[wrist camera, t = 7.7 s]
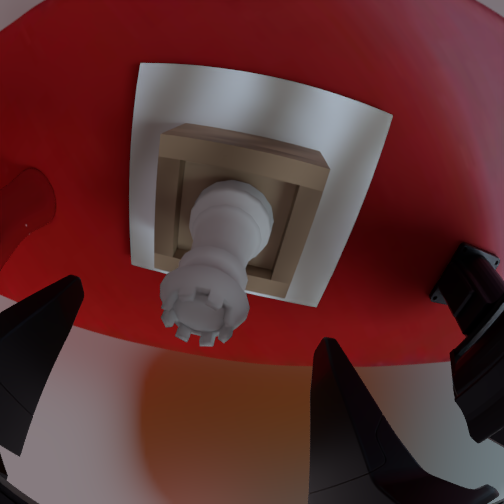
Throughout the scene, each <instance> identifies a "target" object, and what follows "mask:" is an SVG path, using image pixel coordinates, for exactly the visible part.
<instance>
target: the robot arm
mask: <svg viewBox="0 0 504 504" xmlns="http://www.w3.org/2000/svg"><path fill="white" fill-rule="evenodd" d="M499 263H500V259H499V258H498V257H497V256H495V255H493V254H491V253H488V252H486V251H484V250H482V249H479V248H477V247H475V246H472V245H470V244H467V243H462V244H460V246H459V248H458V249H457V251H456V253H455V255H454V256H453V258H452V260H451V262H450V263H449V265H448V267H447V268H446V270H445V272H444V273H443V275H442V277H441V278H440V280H439V281H438V283H437V284H436V286H435V288H434V289H433V291H432V292H431V294H430V295H429V298H430V300H431V301H432V302H436V303H441V304H446V305H448V307H449V309H450V311H451V313H452V315H453V316H454V317H455V319H456V321H457V323H458V325H459V327H460V329H461V331H462V333H463V334H464V335H465V337H466V338H465V339H464V340H463V341H462V342H461V343H460V344H459V345H458V346H457V347H456V348H455V349H453V350H452V351H451V352H450V360H451V369H452V381H453V391H454V396H455V402H456V403H457V404H458V406H459V407H460V409H461V410H462V412H463V415H464V417H465V419H466V422H467V426H468V430H469V433H470V436H471V437H472V439H473V440H475V441H476V442H477V443H481V442H482V441H484V440H485V439H487V438H488V439H490V440H492V441H493V442H495V443H497V444H499V445H501V446H502V447H504V281H503V279H502V278H501V277H500V275H499V274H498V273H497V271H496V268H497V267H498V265H499ZM83 298H84V291H83V287H82V283H81V279H80V278H79V277H77V276H74V275H68V276H67V277H65V278H63V279H61V280H59V281H57V282H55V283H53V284H51V285H49V286H47V287H45V288H44V289H42V290H40V291H38V292H36V293H34V294H32V295H31V296H29V297H27V298H25V299H23V300H22V301H20V302H18V303H16V304H15V305H13V306H11V307H9V308H8V309H6V310H4V311H2V312H1V313H0V445H1V446H3V447H4V448H6V449H8V450H9V451H11V452H12V453H14V454H16V455H18V456H20V455H21V452H22V449H23V445H24V442H25V439H26V436H27V433H28V430H29V426H30V424H31V421H32V418H33V415H34V412H35V409H36V406H37V404H38V401H39V399H40V396H41V394H42V391H43V389H44V386H45V384H46V382H47V379H48V377H49V375H50V372H51V370H52V368H53V366H54V363H55V361H56V359H57V357H58V355H59V353H60V351H61V349H62V347H63V345H64V342H65V340H66V338H67V336H68V334H69V332H70V330H71V328H72V325H73V323H74V320H75V318H76V315H77V313H78V310H79V308H80V306H81V303H82V301H83ZM7 476H8V475H7V472H6V470H5V467H4V464H3V461H2V457H1V454H0V504H39V503H37V502H36V501H34V500H32V499H31V498H30V497H28V496H27V495H25V494H24V493H22V492H21V491H19V490H18V489H17V488H16V487H14V486H13V485H12V484H10V483H9V482H8V481H7ZM498 496H499V493H498V491H497V490H496V489H495V488H493V487H491V486H489V485H484V486H481V487H479V488H477V489H467V488H464V487H461V486H458V485H456V484H453V483H450V482H448V481H445V480H443V479H440V478H438V477H435V476H433V475H431V474H428V473H427V472H426V471H424V470H423V469H422V468H421V467H420V465H419V464H418V463H417V462H416V460H415V459H414V458H413V457H412V455H411V454H410V453H409V451H408V450H407V449H406V447H405V446H404V445H403V443H402V442H401V441H400V439H399V438H398V437H397V435H396V434H395V432H394V431H393V430H392V428H391V426H390V425H389V423H388V421H387V420H386V418H385V417H384V415H382V412H381V410H380V409H379V407H378V405H377V404H376V402H375V401H374V399H373V397H372V396H371V394H370V393H369V391H368V389H367V388H366V386H365V385H364V383H363V381H362V380H361V378H360V377H359V375H358V373H357V372H356V370H355V369H354V367H353V366H352V364H351V362H350V361H349V359H348V358H347V356H346V355H345V353H344V352H343V350H342V348H341V347H340V345H339V344H338V342H337V341H336V340H335V339H334V338H328V337H324V338H323V339H322V340H321V342H320V344H319V345H318V347H317V349H316V350H315V353H314V358H313V370H312V381H311V390H310V476H309V497H308V504H487V503H489V502H490V501H492V500H494V499H495V498H497V497H498ZM492 504H504V499H502V500H499V501H497V502H495V503H492Z"/></svg>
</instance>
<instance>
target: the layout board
mask: <svg viewBox="0 0 504 504" xmlns="http://www.w3.org/2000/svg"><path fill="white" fill-rule="evenodd" d="M392 117H393V115H391V114H389V113H386V112H384V111H381V110H379V109H377V108H374V107H371V106H369V105H366V104H364V103H361V102H358V101H355V100H353V99H350V98H347V97H344V96H341V95H338V94H335V93H332V92H329V91H325V90H322V89H319V88H315V87H312V86H308V85H304V84H300V83H297V82H293V81H288V80H284V79H280V78H275V77H271V76H266V75H261V74H255V73H250V72H244V71H238V70H231V69H224V68H216V67H208V66H197V65H185V64H166V63H140V68H139V75H138V81H137V88H136V96H135V104H134V114H133V124H132V136H131V152H130V177H129V221H130V247H131V263H132V265H135V266H139V267H143V268H146V269H150V270H154V271H158V272H162V273H166V274H167V273H169V272H171V271H173V270H175V269H177V268H178V266H179V261H180V260H181V258H182V257H183V255H184V254H185V253H186V252H188V251H190V250H191V247H192V244H193V239H192V236H191V232H190V229H189V223H190V215H191V209H192V208H193V206H194V204H195V201H196V200H197V198H198V197H199V195H200V194H201V192H202V191H203V190H204V189H206V188H207V187H209V186H211V185H212V184H214V183H216V182H221V181H228V180H235V181H239V182H243V183H247V184H250V185H251V186H253V187H254V188H256V189H257V190H259V191H260V192H261V193H263V194H264V196H265V198H266V199H267V201H268V202H269V204H270V205H271V207H272V213H273V220H274V223H273V226H272V231H271V234H270V237H269V240H268V244H267V245H266V246H265V247H264V249H263V250H262V251H261V252H260V253H259V254H258V255H257V256H256V257H254V258H252V259H251V260H250V261H248V264H247V266H246V268H245V269H246V274H247V278H248V282H247V285H246V288H245V291H244V292H245V293H249V294H254V295H259V296H263V297H268V298H273V299H277V300H282V301H287V302H292V303H297V304H302V305H307V306H312V307H317V305H318V303H319V301H320V299H321V297H322V295H323V293H324V291H325V289H326V286H327V284H328V282H329V280H330V278H331V276H332V274H333V272H334V269H335V267H336V265H337V263H338V260H339V258H340V256H341V254H342V251H343V249H344V247H345V245H346V242H347V240H348V238H349V235H350V233H351V231H352V228H353V226H354V223H355V221H356V218H357V216H358V213H359V211H360V208H361V206H362V203H363V201H364V198H365V196H366V193H367V190H368V188H369V185H370V182H371V180H372V177H373V174H374V171H375V169H376V166H377V163H378V160H379V157H380V154H381V151H382V148H383V145H384V142H385V139H386V136H387V133H388V130H389V127H390V123H391V120H392Z"/></svg>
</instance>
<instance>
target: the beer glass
mask: <svg viewBox="0 0 504 504" xmlns="http://www.w3.org/2000/svg"><path fill="white" fill-rule="evenodd" d="M55 208H56V204H55V197H54V193H53V190H52V187H51V185H50V183H49V181H48V180H47V178H46V177H45V176H44V175H43V174H42V173H41V172H40V171H38V170H36V169H33V168H29V169H26V170H24V171H23V172H21V173H20V174H19V175H18V176H17V177H16V178H15V179H13V180H12V181H11V182H10V183H9V184H8V185H6V186H5V187H3V188H1V189H0V271H1V269H2V268H3V266H4V265H5V263H6V262H7V261H8V259H9V258H10V256H11V255H12V253H13V252H14V251H15V249H16V248H17V247H18V245H19V244H20V243H21V242H22V241H23V240H24V239H25V238H26V237H27V236H28V235H29V234H31V233H32V232H34V231H35V230H37V229H39V228H41V227H43V226H45V225H47V224H48V223H50V222H51V220H52V219H53V217H54V214H55Z"/></svg>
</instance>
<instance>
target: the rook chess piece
mask: <svg viewBox="0 0 504 504" xmlns="http://www.w3.org/2000/svg"><path fill="white" fill-rule="evenodd" d="M273 223H274V220H273V213H272V207H271V205H270V204H269V202H268V201H267V199H266V198H265V196H264V194H263V193H261V192H260V191H259V190H257V189H256V188H254V187H253V186H251V185H250V184H247V183H243V182H239V181H235V180H228V181H221V182H216V183H214V184H212V185H211V186H209V187H207V188H206V189H204V190H203V191H202V192H201V194H200V195H199V197H198V198H197V200H196V201H195V204H194V206H193V208H192V209H191V215H190V223H189V229H190V232H191V236H192V239H193V244H192V247H191V250H190V251H188V252H186V253H185V254H184V255H183V257H182V258H181V260H180V261H179V266H178V268H177V269H175V270H173V271H171V272H169V273H167V275H166V276H165V278H164V279H163V281H162V282H161V284H160V298H161V300H162V303H163V304H162V307H161V308H162V309H165V310H164V312H163V314H162V316H161V319H162V321H163V323H164V325H165V326H166V327H172V326H173V324H174V323H175V324H176V325H177V326H178V330H177V332H176V335H175V336H176V337H178V338H180V339H181V340H183V341H185V342H187V341H188V339H189V337H190V334H195V335H199V336H201V337H200V340H199V342H200V346H213V345H214V341H215V337H216V336H219V337H218V339H219V340H220V341H222V342H223V343H225V342H226V341H227V340H228V339H230V338H231V337H232V333H233V330H234V329H236V328H237V327H238V326H239V325H240V324H242V323H243V322H244V321H245V320H246V317H247V314H248V311H249V303H248V299H247V295H246V293H245V292H244V291H245V288H246V285H247V282H248V278H247V274H246V269H245V268H246V266H247V264H248V261H250V260H251V259H252V258H254V257H256V256H257V255H258V254H259V253H260V252H261V251H262V250H263V249H264V247H265V246H266V245H267V244H268V240H269V237H270V234H271V231H272V226H273Z"/></svg>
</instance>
